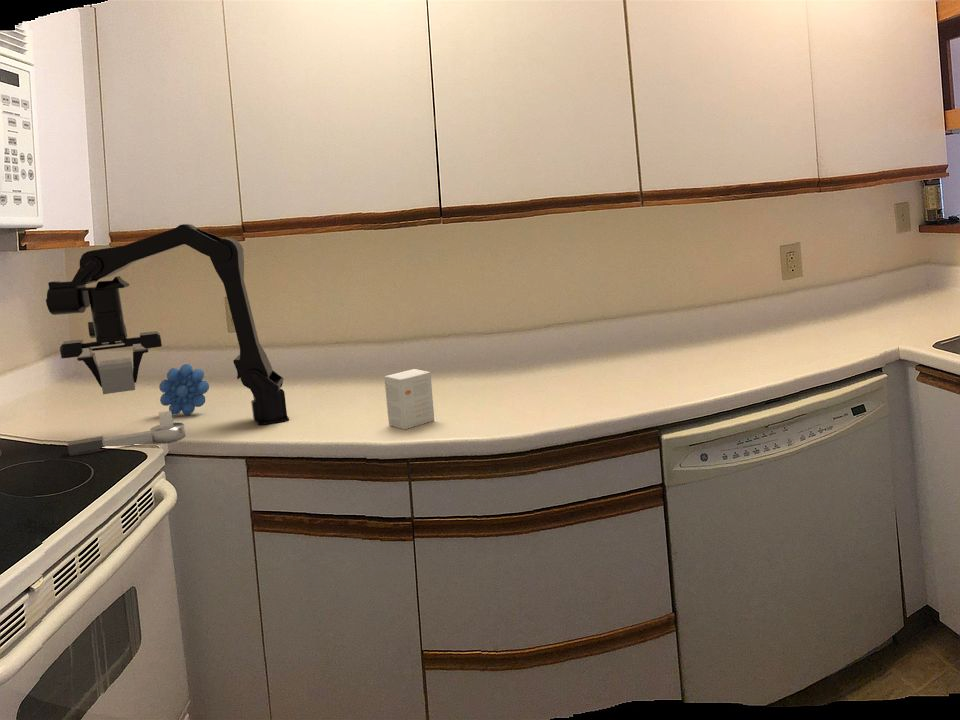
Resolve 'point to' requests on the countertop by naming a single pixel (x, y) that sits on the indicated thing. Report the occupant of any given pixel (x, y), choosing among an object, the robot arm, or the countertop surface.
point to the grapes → (183, 389)
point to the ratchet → (135, 436)
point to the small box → (409, 398)
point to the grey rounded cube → (116, 375)
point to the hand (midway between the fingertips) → (118, 384)
